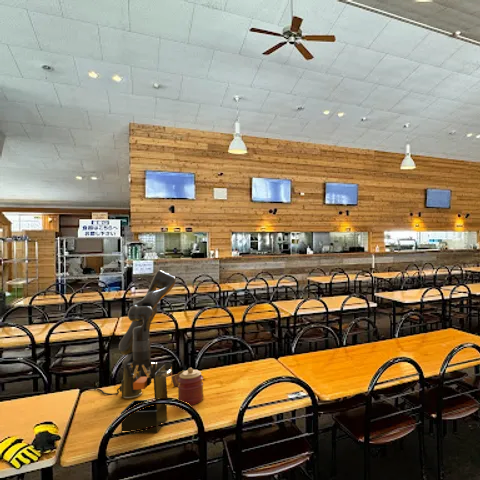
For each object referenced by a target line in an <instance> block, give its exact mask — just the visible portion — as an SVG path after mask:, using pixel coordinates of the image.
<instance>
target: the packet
mask: <svg viewBox="0 0 480 480" xmlns="http://www.w3.org/2000/svg"><path fill="white" fill-rule="evenodd" d="M147 387H148V386H147V376H141V377H140V378H139V379H138V380H136V381H135V382H134V383H133V390H138V389H142V390H145V389H147Z"/></svg>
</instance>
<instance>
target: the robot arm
mask: <svg viewBox="0 0 480 480" xmlns="http://www.w3.org/2000/svg"><path fill="white" fill-rule="evenodd" d="M176 281H177V278H176V276H175V275H172V274H170V273H168V272H166V271H164V270H160V269H159V270H158V271H156V273H155V274H154V276H153V277H152V280H151V283H150V285H149V287H148V289H147V291H146V294H145V296H144V297H143V298H142V299H141V300H139V301H138V302H136V303H135V304H132V306H130V308H129V310H128V312H127V318H128V319H129V321H131V323H130V325H129V326H128V329H127V330H126V332H125V333H124V335H123V337H122V338H121V339H120V341H119V344H118V351H119V353H120V354H121V355H123V356H125V358H124V359H123V361H122V379H121V383H120V384H121V385H119V387H118V388H117V389H116V392H115V393H108V392H104V390H102V389H100V388H97V387H91V386H84V387H83V388H81V389H80V391H83V390H85V389H89V390H96V389H97V391H98V392H101V393H102V394H103V395H108V396H112V395H113V396H115V395H119V394H120V392H121V399H125V400H132V399H136V398H138V397H140V396H142V395H143V392H142V391H143V389H138V390H133V383H134V382H135V381H136V380H138V379H139V378H140V377H142V372H144V374H145V375H146V376H145V377H147V387H149V386H150V385H151V384H152V378H153V374H154V373H155V372H156V371H157V370H158V364H159V363H158V361H156V362H154V361H152V359H151V358H152V354H151V351H152V350H151V349H152V348H151V337H150V336H151V333H150V332H151V330H150V329H151V324H152V322H153V320H154V318H155V316H156V315H157V312H158V304H159V303H160V301H161V300H162V299H163V298H165V297H166V295H168V293H170V292H171V290H173V288H174V286H175V284H176ZM151 368H152V369H151Z"/></svg>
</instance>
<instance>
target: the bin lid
mask: <svg viewBox="0 0 480 480" xmlns="http://www.w3.org/2000/svg"><path fill="white" fill-rule="evenodd" d="M171 369H172V368H170V369H167V370H166V364H163V365H161V367H159V368H157V369H156V372H155V373H154V374H153V376H152V378H153V391H154V392H153V393H154V394H153V395H154V400H155V399H158V398H167V399H168V385H167V378H168V377H169V376H170V374H171V373H172V374H173V370H171ZM172 374H171V375H172ZM161 405H162V404H157V405H155V410H158V409H159V408H160V406H161Z"/></svg>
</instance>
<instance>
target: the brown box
mask: <svg viewBox="0 0 480 480" xmlns="http://www.w3.org/2000/svg"><path fill="white" fill-rule="evenodd" d="M170 369H171V370H172V369H173V367H172V366H170ZM172 371H173V370H172ZM183 372H184V369H182V371H179V372H178V373H176V374H173V372H172V373H171V374H170V375H169V376H170V379H171V380H170V382H171V385H172V386H173V387H178V385H179V382H178V379H179V378H180V377H179V375H180V374H181V373H183ZM202 381H205V378H203V379H202Z"/></svg>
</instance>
